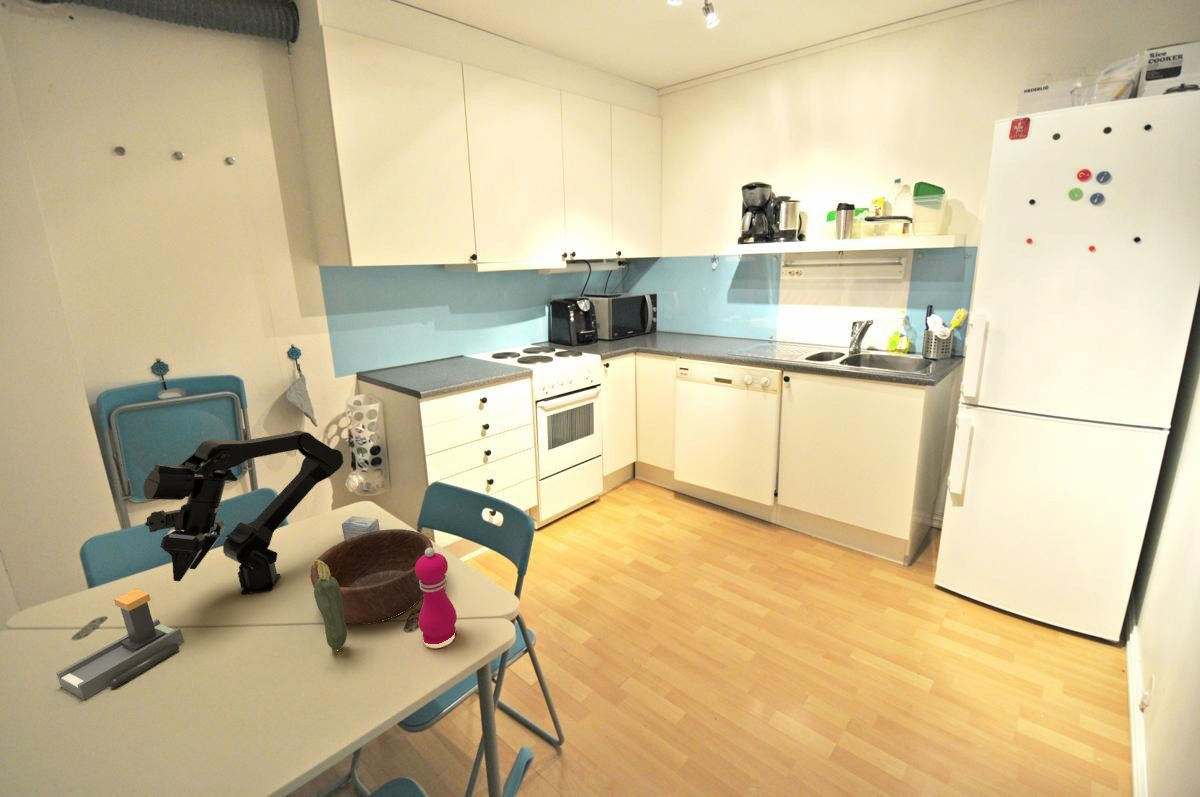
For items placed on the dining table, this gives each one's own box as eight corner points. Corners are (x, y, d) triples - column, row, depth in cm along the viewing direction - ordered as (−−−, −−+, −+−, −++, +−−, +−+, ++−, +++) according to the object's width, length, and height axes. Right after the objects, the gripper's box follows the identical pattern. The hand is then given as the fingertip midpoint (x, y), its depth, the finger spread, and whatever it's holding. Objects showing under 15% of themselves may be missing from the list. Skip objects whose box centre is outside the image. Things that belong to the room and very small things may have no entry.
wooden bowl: (443, 560, 135) (438, 523, 133) (430, 625, 112) (424, 581, 109) (336, 572, 131) (330, 534, 129) (300, 642, 108) (291, 597, 105)
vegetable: (355, 647, 106) (340, 555, 100) (338, 662, 102) (321, 568, 96) (337, 642, 107) (321, 552, 102) (320, 657, 103) (302, 564, 98)
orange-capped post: (151, 629, 109) (139, 586, 106) (166, 635, 107) (154, 592, 104) (121, 645, 104) (108, 601, 102) (136, 652, 102) (123, 607, 100)
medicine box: (383, 548, 142) (379, 518, 140) (372, 557, 138) (368, 526, 136) (357, 545, 144) (352, 515, 142) (345, 554, 140) (340, 523, 137)
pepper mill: (463, 627, 110) (454, 538, 105) (451, 652, 104) (440, 559, 98) (429, 625, 111) (418, 538, 106) (414, 650, 104) (402, 558, 99)
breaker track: (153, 628, 113) (150, 616, 112) (190, 644, 108) (187, 631, 107) (54, 683, 99) (49, 669, 98) (91, 704, 94) (86, 689, 93)
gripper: (175, 488, 120) (156, 559, 119) (139, 501, 103) (116, 584, 101) (233, 496, 124) (215, 564, 123) (207, 509, 107) (186, 589, 105)
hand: (185, 574), depth 113 cm, fingers open, 9 cm apart
